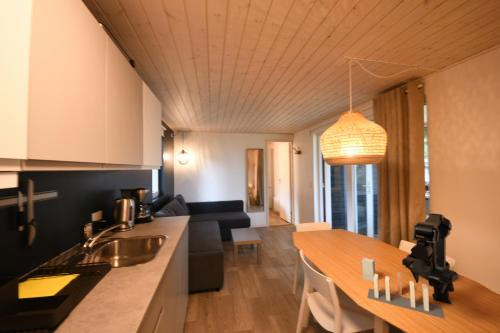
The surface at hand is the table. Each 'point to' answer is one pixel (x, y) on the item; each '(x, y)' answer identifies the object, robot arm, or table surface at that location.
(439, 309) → the domino mat
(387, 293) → the domino
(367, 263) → the skincare box
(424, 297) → the domino
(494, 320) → the table surface
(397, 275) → the domino
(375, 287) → the domino
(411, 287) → the domino
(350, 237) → the table surface
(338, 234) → the table surface
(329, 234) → the table surface
